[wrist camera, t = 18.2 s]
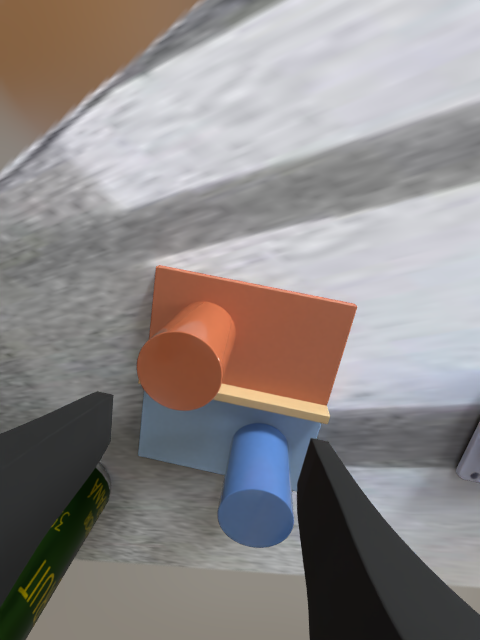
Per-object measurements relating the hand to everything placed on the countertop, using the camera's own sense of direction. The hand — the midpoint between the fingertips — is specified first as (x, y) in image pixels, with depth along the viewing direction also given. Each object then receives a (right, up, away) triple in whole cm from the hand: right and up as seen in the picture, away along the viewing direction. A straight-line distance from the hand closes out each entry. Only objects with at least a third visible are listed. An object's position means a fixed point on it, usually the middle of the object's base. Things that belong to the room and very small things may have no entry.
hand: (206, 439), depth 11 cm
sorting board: (+1, 0, +10) cm, 10 cm away
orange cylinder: (-1, +3, +8) cm, 9 cm away
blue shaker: (+3, -5, +10) cm, 12 cm away
